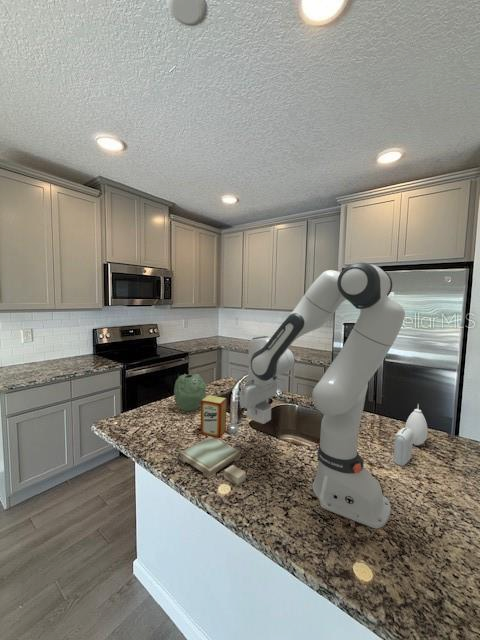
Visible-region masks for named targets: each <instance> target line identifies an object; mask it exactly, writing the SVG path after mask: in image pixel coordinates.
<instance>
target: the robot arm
mask: <svg viewBox="0 0 480 640" xmlns="http://www.w3.org/2000/svg"><path fill="white" fill-rule="evenodd" d="M392 288H393V281H392V278H391V276H390V274H389V273H388V272H386V271H385V270H383V269H382V268H381V267H379V266H377V265H375V264H371V263H366V262H355V263H354V262H353V263H352V264H348V265H347V266H345V267H344V268H343V269H342V271H338V270H333V269H329V270H328V269H327V270H325V271H323V272H322V273H320V275H319V276H318V277H317V278H316V279H315V280H314V281H313V283H312V284H311V285H310V286H309V287H308V289H307V290H306V292H305V294H304V295H303V297H301V299H300V300H299V302H298V304H297V305H296V306H295V308H294V309H293V310H292V312H291V313H290V314H289V315H288V316H287V317H286V319H285V320H284V321H283V322H282V323H281V324H280V326H279V327H278V329H276V331H275V332H274V333H273V334H272V336H271V337H270V336H268V335H267V336H265V335H263V336H257V337H256V336H255V337H252V338H251V339H250V341H249V343H248V358H247V359H248V362H249V365H248V370H247V373H248V374H247V381H246V382H244V384H243V385H242V387H241V389H240V393H239V394H240V395H239V405H240V407H242V408H245V409H246V410H247V409H248V408H250V410H251V415H253V416H255V415H257V410H255V407H256V404H258V403H260V402H264V403H267V404H269V400H270V398H273V397H275V396H276V395H277V392H278V380H277V379H278V377H279V376H280V375H282V374H285V373H288V372H290V371H291V370H292V369H293V368H294V366H295V362H296V360H295V355H294V353H293V351H292V350H291V349H290V348H289V347H291V345H292V344H293V343H294V342H295V341H297V340H298V339H299V338H300V337H301V336H304V335H306V334H308V333H311V332H313V331H315V330H318V329H320V328H322V327H323V326H324V325H325V324H326V323H328V321H329V320H330V319H331V318H332V317H333V316H334V314H335V313H336V311H337V310H338V308H339V307H340V306H341V305H342V303H344V302H345V301H346V300H347V302H349V303H350V304H352V306H353V307H355V308H356V309H357V310H360V311H359V312H360V313H359V316H358V317H357V320H356V322H355V324H354V326H353V328H352V329H351V330H350V333H349V335H348V337H347V338H346V339H345V340H346V341H345V342H344V343H343V346H342V347H341V350H340V351H339V353H338V354H337V355H336V357H335V358H334V359H333V360H332V362H331V363H330V365H329V366H328V368H327V369H326V370H325V372H324V374H323V375H322V377H321V378H320V380H319V381H318V382H317V383H316V385H315V386H314V388H313V390H312V394H311V396H312V397H311V399H312V401H313V405H314V406H315V407H316V409H317V410H318V411H319V412H321V413H322V414H323V417H322V419H321V424H320V436H319V438H320V439H319V445H318V448H317V449H318V450H317V461H318V462H317V463H318V464H317V469H316V473H315V477H314V480H313V481H312V482H313V483H312V491H313V493H314V495H315V496H316V498H317V500H318V502H319V505H320V507H321V508H322V509H324V510H327V511H329V512H331V513H334V514H337V515H339V516H341V517H344V518H347V519H349V520H353V521H355V522H357V523H359V524H362V525H365V526H367V527H369V528H373V529H377V530H378V529H381V528H382V527H384V526H385V525H386V524H387V522H388V521H389V519H390V517H391V511H392V510H391V509H392V507H391V503H390V501H389V499H388V498H387V496H385V495H384V494H383V491H382V485H381V484H380V482H379V481H378V480H377V479H376V478H375V477H374V476H373V474H371V473H370V471H368V470H367V469H366V468H365V467H364V462H365V459H366V458H365V457H366V456H365V455H363V456H362V457H361V455H360V454H359V452H358V445H359V431H360V425H361V422H362V421H361V420H362V416H363V413H364V407H365V401H366V395H367V391H368V388H369V382H370V381H371V378H372V377H373V376H374V375H375V374H376V372H377V370H378V369H379V368H380V366H381V365H382V362H383V361H384V359H385V358H386V357H387V355H388V353H389V351H390V349H391V348H392V346H393V344H394V342H395V341H396V339H397V337H398V335H399V333H400V331H401V328H402V326H403V323H404V321H405V316H406V311H405V309H404V308H403V307H402V305H401V304H400V303H399V302H397V301H395V300H394V299H391V298H390V297H389V295H390V294H391V292H392Z"/></svg>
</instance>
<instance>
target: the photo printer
mask: <svg viewBox="0 0 480 640" xmlns="http://www.w3.org/2000/svg"><path fill="white" fill-rule="evenodd" d="M393 446H394V447H393V448H394V449H393V458H392V459H393V461H392V462H394V464H396V465H398V466H400V467H402V466H405V465H407V463H409V461H410V460H411V458H412V453H413V431H412V430H411V429H410V428H407V427H405V426H404V427H402V428H401V429H398V431H397V433H396V434H395V436H394V445H393Z"/></svg>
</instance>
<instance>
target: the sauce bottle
mask: <svg viewBox="0 0 480 640" xmlns="http://www.w3.org/2000/svg"><path fill="white" fill-rule="evenodd" d="M419 405H420V404H419V403H417V408H415V409H413V411H412V412H411V413H410V415H409V416H408V418H407V420H406V422H405V425H404V428H405V427H407V428H410V429H411V430H412V431H413V444H414V445H413V444H412V445H413V446H421V445H423V444H424V443H425V441H426V439H427V438H428V423H427V421H426V418H425V416H424V414H423V412H422V410H421V409H419V407H420V406H419Z"/></svg>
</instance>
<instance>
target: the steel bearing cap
mask: <svg viewBox="0 0 480 640" xmlns="http://www.w3.org/2000/svg"><path fill="white" fill-rule="evenodd" d="M238 427H239V425H238V424H237V423H232V422H231V423H226V434H228V435H232V436H233V435H237V434H238V432H239V431H238V430H239V428H238Z"/></svg>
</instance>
